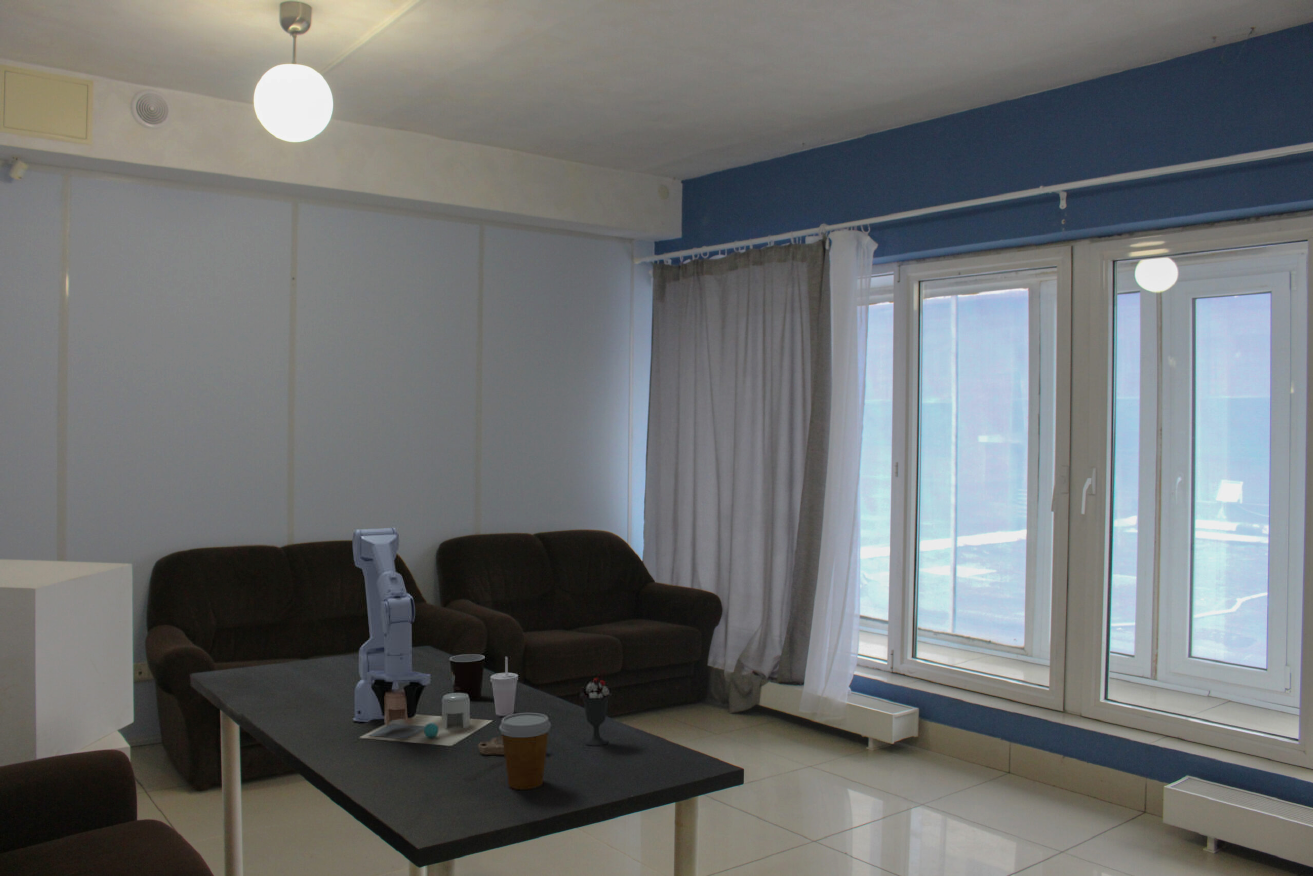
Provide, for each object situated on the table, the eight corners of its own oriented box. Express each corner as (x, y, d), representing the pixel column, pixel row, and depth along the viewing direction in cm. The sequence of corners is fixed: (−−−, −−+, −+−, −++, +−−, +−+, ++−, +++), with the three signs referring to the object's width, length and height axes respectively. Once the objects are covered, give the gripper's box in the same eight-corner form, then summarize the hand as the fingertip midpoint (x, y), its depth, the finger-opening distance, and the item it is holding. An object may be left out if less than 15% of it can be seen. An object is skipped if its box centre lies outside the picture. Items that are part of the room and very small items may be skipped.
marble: (421, 739, 207) (421, 724, 207) (428, 735, 210) (428, 721, 210) (433, 740, 206) (433, 725, 206) (441, 736, 209) (440, 722, 209)
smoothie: (513, 722, 222) (512, 660, 222) (486, 721, 223) (485, 659, 224) (522, 714, 228) (521, 654, 229) (496, 713, 230) (495, 653, 230)
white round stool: (438, 728, 214) (438, 698, 214) (450, 721, 220) (450, 692, 220) (461, 730, 213) (461, 700, 213) (473, 723, 218) (473, 693, 218)
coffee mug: (481, 702, 239) (481, 661, 239) (446, 702, 240) (446, 662, 240) (490, 690, 251) (490, 651, 251) (457, 690, 251) (456, 651, 251)
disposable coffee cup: (501, 776, 186) (501, 712, 186) (551, 774, 187) (551, 711, 187) (497, 794, 177) (497, 727, 177) (550, 791, 178) (550, 725, 178)
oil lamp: (479, 764, 194) (479, 738, 194) (476, 752, 201) (476, 728, 201) (545, 758, 197) (545, 733, 197) (540, 747, 204) (540, 723, 204)
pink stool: (380, 725, 211) (380, 694, 211) (394, 717, 216) (394, 687, 216) (403, 726, 209) (402, 695, 209) (416, 719, 214) (416, 689, 214)
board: (358, 742, 208) (358, 736, 208) (406, 718, 227) (406, 713, 227) (451, 750, 202) (451, 745, 202) (492, 725, 220) (492, 719, 220)
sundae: (616, 739, 209) (616, 668, 209) (605, 748, 202) (604, 676, 202) (588, 736, 211) (587, 666, 211) (575, 745, 205) (574, 673, 205)
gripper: (358, 655, 211) (359, 718, 211) (418, 658, 207) (418, 723, 207) (376, 648, 218) (377, 709, 217) (435, 651, 213) (435, 714, 213)
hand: (398, 715), depth 212 cm, fingers closed on pink stool, 6 cm apart
